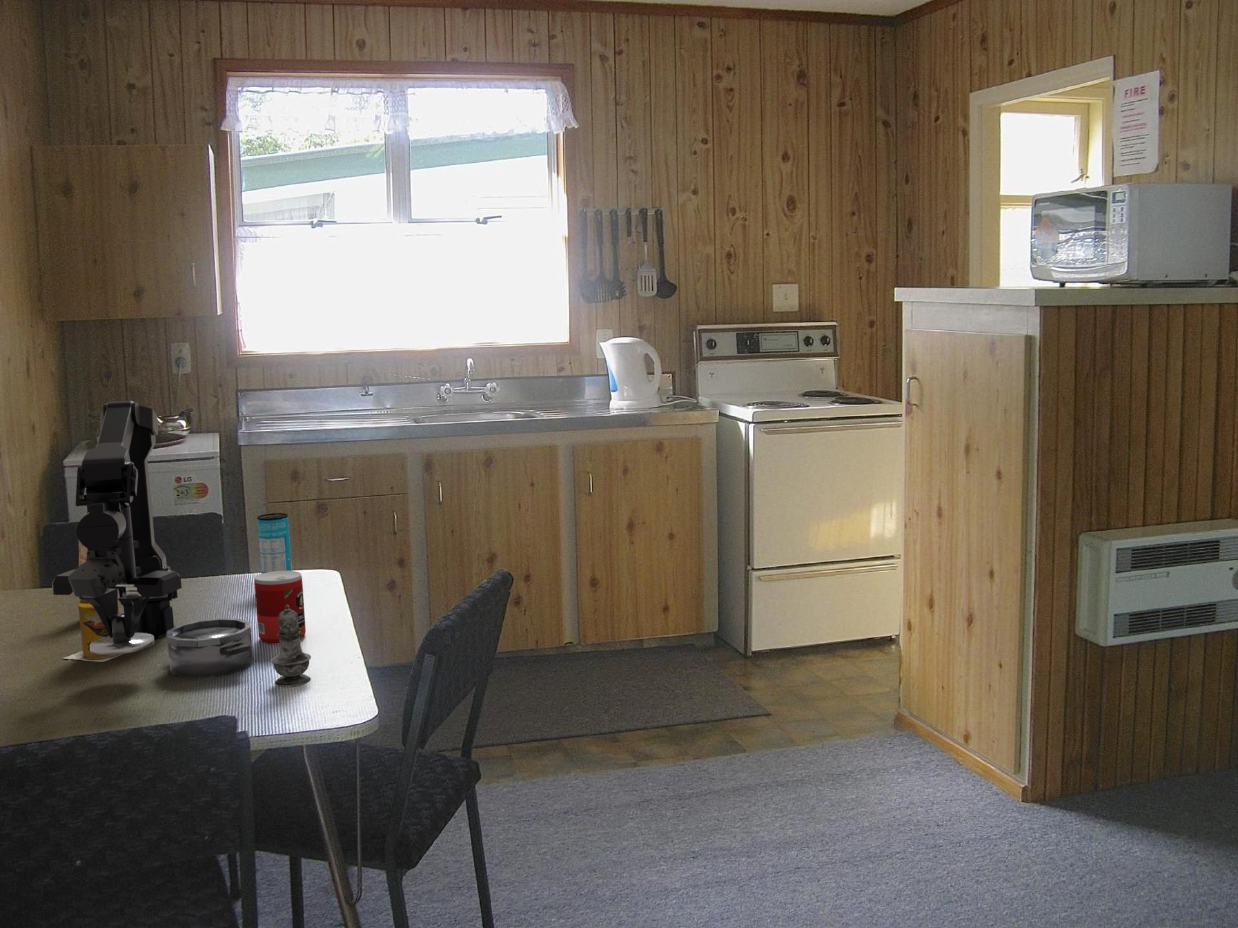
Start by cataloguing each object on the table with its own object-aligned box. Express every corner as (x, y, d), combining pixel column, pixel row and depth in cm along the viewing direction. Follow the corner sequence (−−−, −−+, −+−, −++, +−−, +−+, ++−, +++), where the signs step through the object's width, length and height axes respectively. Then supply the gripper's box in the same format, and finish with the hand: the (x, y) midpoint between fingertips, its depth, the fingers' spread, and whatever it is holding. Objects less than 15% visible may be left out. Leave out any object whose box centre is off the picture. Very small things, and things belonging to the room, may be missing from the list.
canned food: (294, 645, 206) (289, 581, 204) (250, 644, 207) (245, 580, 206) (314, 632, 213) (309, 570, 212) (271, 631, 215) (267, 570, 213)
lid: (77, 653, 186) (73, 622, 185) (114, 636, 195) (112, 607, 194) (130, 655, 184) (127, 624, 183) (166, 638, 192) (163, 608, 192)
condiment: (105, 662, 200) (98, 590, 198) (62, 659, 202) (55, 588, 201) (135, 649, 207) (128, 580, 205) (93, 646, 209) (87, 578, 207)
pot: (147, 665, 197) (144, 629, 196) (218, 646, 206) (216, 612, 205) (204, 686, 185) (201, 647, 184) (277, 665, 194) (274, 628, 194)
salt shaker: (276, 676, 189) (270, 600, 187) (315, 674, 189) (310, 598, 188) (269, 688, 183) (263, 610, 181) (309, 686, 184) (303, 608, 182)
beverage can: (299, 587, 247) (294, 514, 245) (277, 594, 242) (271, 519, 240) (278, 584, 250) (273, 512, 248) (256, 591, 245) (250, 517, 243)
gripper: (22, 548, 181) (33, 651, 183) (136, 549, 177) (145, 654, 179) (71, 533, 192) (80, 630, 194) (179, 534, 188) (187, 633, 190)
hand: (121, 637), depth 189 cm, fingers closed on lid, 3 cm apart
